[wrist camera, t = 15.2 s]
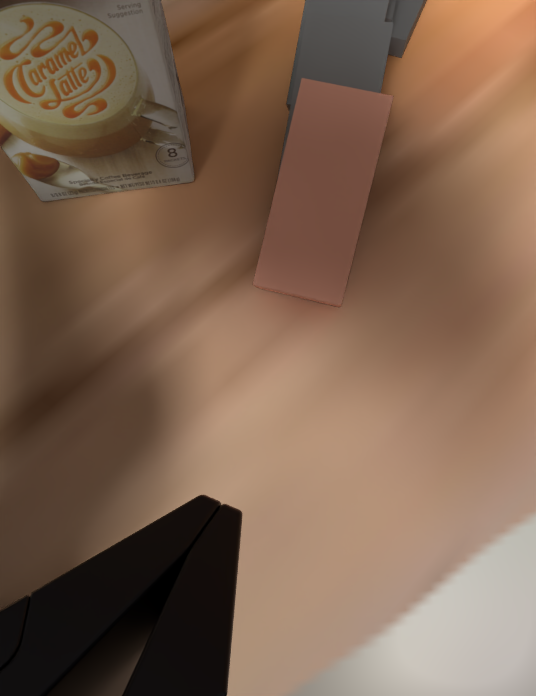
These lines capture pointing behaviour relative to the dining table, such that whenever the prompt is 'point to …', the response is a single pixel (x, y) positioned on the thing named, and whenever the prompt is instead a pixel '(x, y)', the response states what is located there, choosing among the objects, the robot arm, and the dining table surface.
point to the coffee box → (91, 97)
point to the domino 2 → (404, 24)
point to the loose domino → (322, 191)
